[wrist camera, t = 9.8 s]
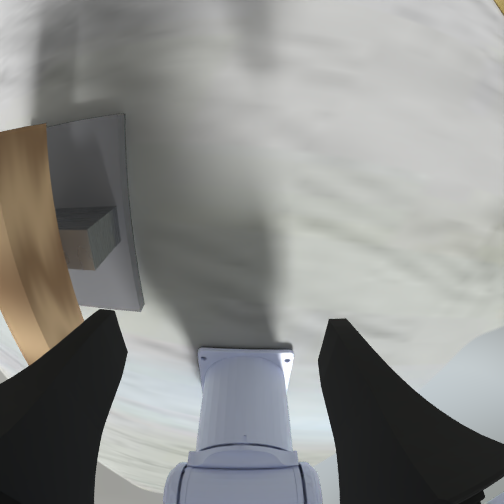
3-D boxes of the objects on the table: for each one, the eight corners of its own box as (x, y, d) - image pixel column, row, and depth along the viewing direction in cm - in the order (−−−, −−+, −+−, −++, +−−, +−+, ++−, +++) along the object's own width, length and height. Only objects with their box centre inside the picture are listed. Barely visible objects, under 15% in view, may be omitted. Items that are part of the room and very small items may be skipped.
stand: (144, 304, 21) (123, 348, 17) (63, 296, 21) (35, 331, 17) (124, 113, 15) (84, 116, 11) (33, 131, 15) (-13, 142, 11)
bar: (92, 342, 17) (69, 385, 13) (59, 336, 17) (34, 375, 13) (46, 123, 11) (-8, 133, 7) (10, 133, 11) (-40, 147, 7)
